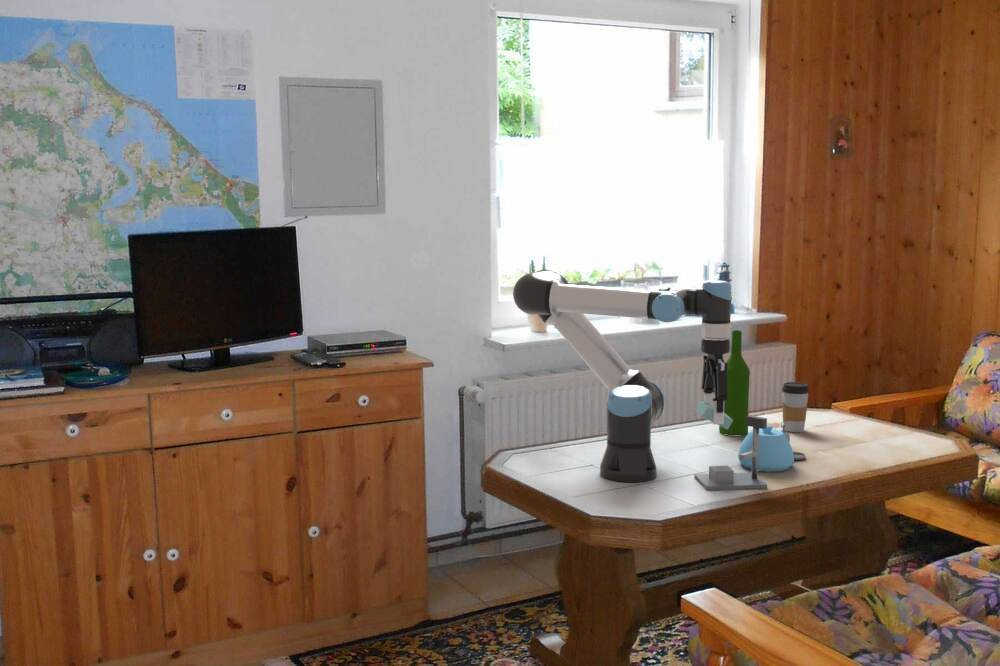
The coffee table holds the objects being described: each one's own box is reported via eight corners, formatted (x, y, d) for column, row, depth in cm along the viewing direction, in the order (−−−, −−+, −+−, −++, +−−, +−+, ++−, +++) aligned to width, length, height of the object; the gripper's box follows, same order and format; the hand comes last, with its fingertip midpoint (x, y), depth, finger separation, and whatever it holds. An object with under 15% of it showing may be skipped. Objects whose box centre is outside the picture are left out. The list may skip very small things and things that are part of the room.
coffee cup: (810, 433, 309) (812, 387, 307) (784, 433, 309) (786, 386, 307) (802, 427, 317) (804, 381, 315) (777, 427, 317) (778, 381, 315)
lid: (702, 416, 264) (707, 406, 263) (694, 409, 272) (700, 400, 271) (727, 429, 265) (733, 420, 264) (719, 422, 272) (724, 413, 272)
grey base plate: (706, 490, 251) (706, 475, 251) (694, 477, 262) (694, 463, 262) (767, 488, 253) (767, 473, 252) (752, 476, 264) (753, 461, 263)
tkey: (749, 484, 252) (751, 422, 249) (732, 480, 255) (734, 419, 253) (764, 479, 257) (766, 418, 254) (748, 475, 260) (750, 415, 258)
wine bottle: (753, 435, 307) (756, 332, 302) (726, 437, 305) (730, 333, 300) (739, 428, 316) (743, 328, 311) (714, 430, 314) (717, 329, 309)
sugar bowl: (731, 459, 280) (732, 419, 279) (782, 458, 281) (784, 418, 280) (747, 474, 266) (748, 432, 264) (801, 473, 267) (803, 431, 265)
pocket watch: (806, 461, 277) (808, 427, 276) (775, 460, 279) (777, 425, 278) (803, 454, 285) (805, 420, 284) (773, 452, 287) (775, 419, 286)
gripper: (742, 343, 255) (739, 429, 258) (717, 332, 275) (715, 411, 279) (713, 344, 254) (711, 429, 258) (691, 332, 275) (689, 412, 278)
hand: (713, 420), depth 268 cm, fingers closed on lid, 8 cm apart
